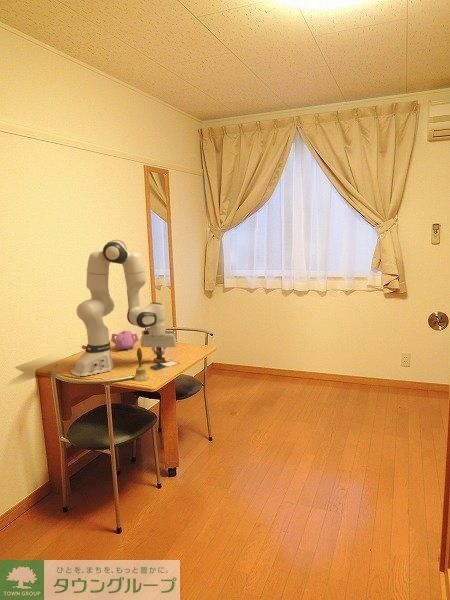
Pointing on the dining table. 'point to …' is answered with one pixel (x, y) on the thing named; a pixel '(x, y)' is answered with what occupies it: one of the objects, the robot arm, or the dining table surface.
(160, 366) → the ink pad
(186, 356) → the dining table surface
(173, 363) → the marked card
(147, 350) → the dining table surface
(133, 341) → the pot
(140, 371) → the hand bell
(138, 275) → the robot arm
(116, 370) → the dining table surface
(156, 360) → the stamp
